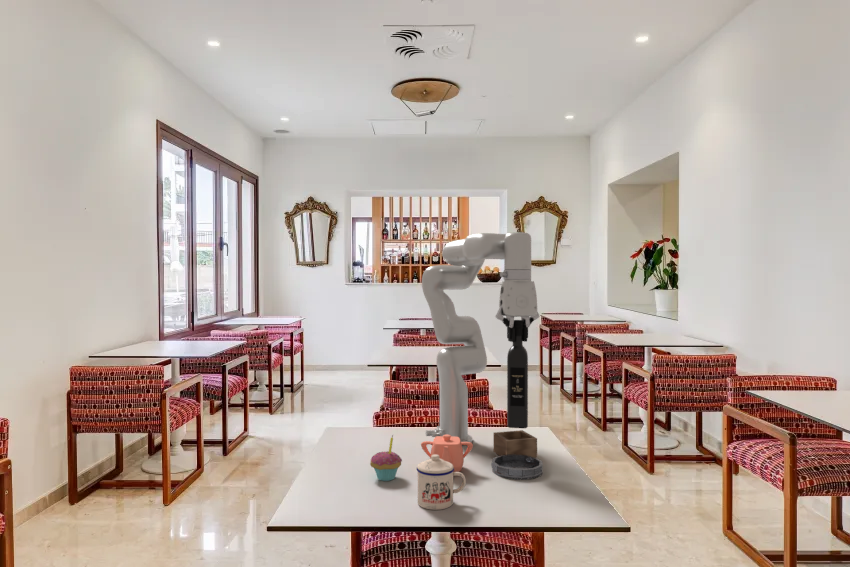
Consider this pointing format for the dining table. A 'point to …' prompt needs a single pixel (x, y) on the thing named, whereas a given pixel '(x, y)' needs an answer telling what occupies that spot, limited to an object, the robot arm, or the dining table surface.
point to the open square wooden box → (515, 443)
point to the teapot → (448, 450)
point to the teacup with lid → (436, 483)
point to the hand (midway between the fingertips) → (517, 340)
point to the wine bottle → (517, 381)
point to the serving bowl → (517, 466)
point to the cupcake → (386, 464)
